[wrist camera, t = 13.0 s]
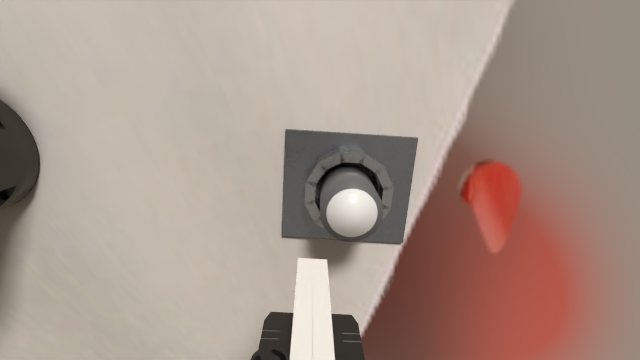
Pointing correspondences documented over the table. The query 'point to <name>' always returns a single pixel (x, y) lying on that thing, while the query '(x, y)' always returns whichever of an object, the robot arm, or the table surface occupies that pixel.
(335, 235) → the lens barrel
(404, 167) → the barrel mount
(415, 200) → the table surface
